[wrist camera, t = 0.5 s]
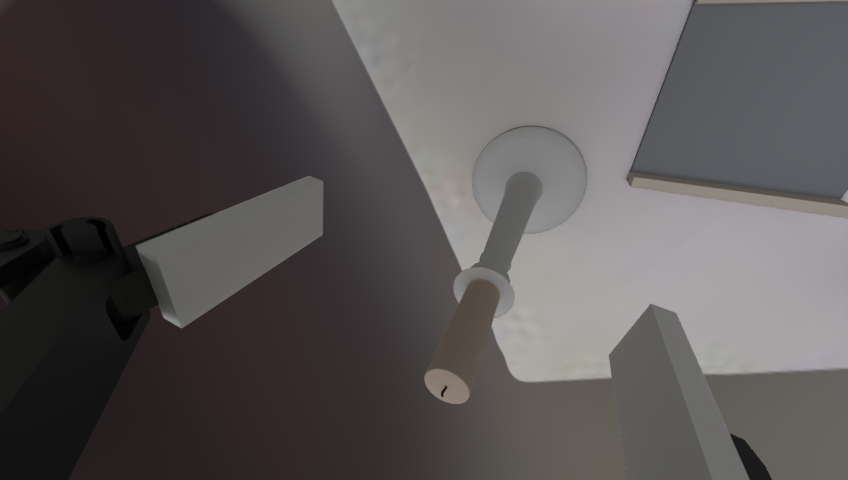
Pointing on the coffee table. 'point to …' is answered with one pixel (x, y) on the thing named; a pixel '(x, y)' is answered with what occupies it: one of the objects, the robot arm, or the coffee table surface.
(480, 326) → the candlestick
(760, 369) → the coffee table surface
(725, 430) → the robot arm
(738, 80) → the grey flat square piece
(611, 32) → the coffee table surface
